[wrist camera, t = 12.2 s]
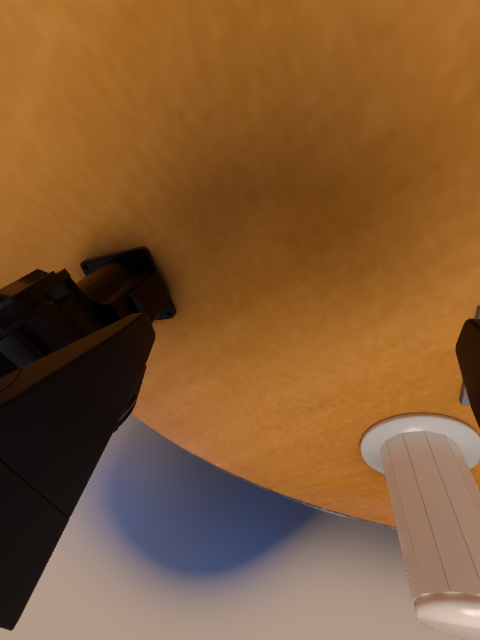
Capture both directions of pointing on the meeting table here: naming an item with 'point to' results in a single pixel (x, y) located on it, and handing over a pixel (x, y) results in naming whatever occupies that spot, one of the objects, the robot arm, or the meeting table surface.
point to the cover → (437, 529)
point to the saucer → (442, 424)
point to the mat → (464, 397)
